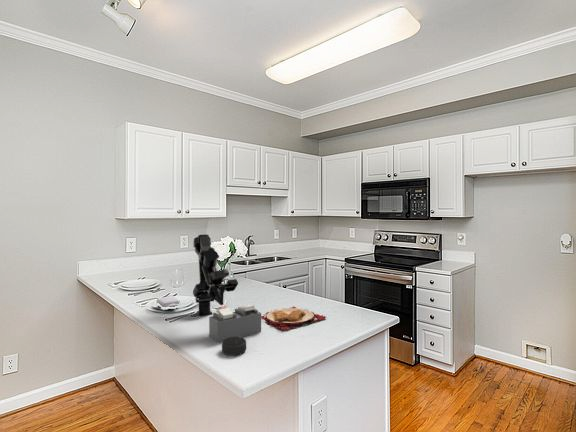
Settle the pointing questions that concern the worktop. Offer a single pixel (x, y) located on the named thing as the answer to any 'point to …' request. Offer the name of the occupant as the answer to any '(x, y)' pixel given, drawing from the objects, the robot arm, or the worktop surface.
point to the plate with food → (290, 317)
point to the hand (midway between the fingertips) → (222, 304)
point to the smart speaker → (234, 346)
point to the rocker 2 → (246, 308)
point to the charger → (168, 301)
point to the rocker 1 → (224, 312)
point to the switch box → (234, 325)
